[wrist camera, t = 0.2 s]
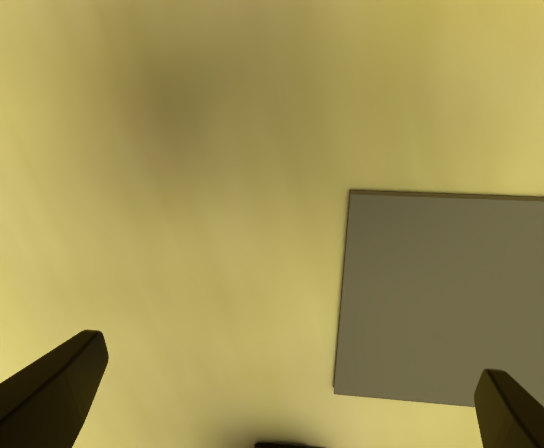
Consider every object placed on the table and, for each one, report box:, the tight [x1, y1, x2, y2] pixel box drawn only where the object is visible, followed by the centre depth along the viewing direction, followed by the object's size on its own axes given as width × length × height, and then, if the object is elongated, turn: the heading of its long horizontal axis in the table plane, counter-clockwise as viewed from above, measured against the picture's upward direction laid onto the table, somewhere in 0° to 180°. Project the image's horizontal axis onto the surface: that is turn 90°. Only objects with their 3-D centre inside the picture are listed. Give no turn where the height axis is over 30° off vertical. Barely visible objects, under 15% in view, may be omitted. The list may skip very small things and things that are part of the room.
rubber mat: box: [334, 190, 544, 407], centre depth 25 cm, size 16×15×1 cm
